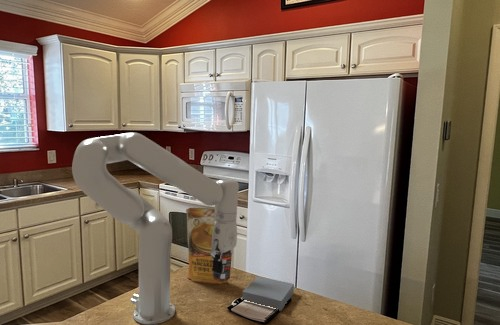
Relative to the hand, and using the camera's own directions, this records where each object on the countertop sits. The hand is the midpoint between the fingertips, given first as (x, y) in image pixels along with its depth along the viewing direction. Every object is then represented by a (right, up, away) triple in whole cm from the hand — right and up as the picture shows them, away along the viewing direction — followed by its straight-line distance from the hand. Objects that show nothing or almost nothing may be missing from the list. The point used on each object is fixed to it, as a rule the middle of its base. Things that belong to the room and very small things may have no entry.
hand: (221, 267), depth 115 cm
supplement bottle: (0, -4, 0) cm, 4 cm away
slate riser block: (+16, -12, +4) cm, 20 cm away
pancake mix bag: (-7, -10, +17) cm, 21 cm away
